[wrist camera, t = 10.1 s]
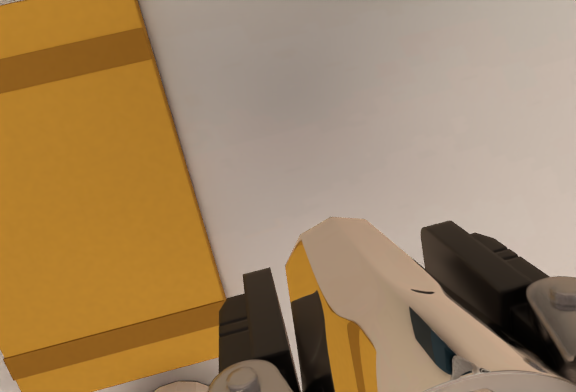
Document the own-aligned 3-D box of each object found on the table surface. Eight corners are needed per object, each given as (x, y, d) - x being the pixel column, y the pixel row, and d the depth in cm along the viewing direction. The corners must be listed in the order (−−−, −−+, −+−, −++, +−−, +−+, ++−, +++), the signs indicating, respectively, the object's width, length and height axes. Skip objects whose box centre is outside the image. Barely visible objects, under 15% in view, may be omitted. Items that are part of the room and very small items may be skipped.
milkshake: (399, 149, 13) (858, 401, 4) (419, 312, 15) (772, 768, 5) (240, 186, 13) (304, 565, 3) (280, 348, 15) (396, 903, 5)
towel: (35, 397, 27) (28, 411, 26) (-138, 39, 21) (-157, 38, 20) (239, 341, 28) (239, 353, 27) (131, -20, 22) (127, -23, 20)
